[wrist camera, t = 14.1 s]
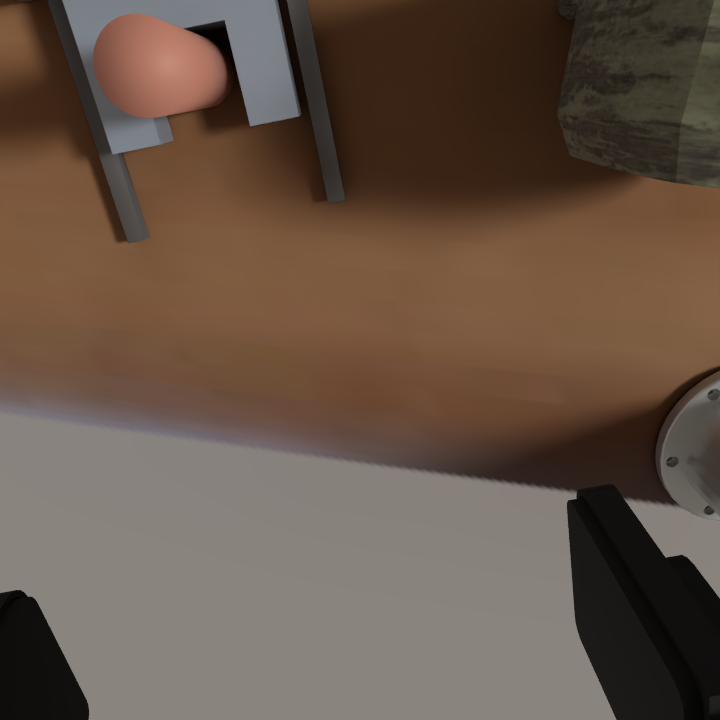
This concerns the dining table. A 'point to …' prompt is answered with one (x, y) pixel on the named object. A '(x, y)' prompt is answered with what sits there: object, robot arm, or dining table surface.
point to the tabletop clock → (644, 87)
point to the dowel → (159, 67)
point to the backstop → (116, 162)
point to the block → (196, 14)
